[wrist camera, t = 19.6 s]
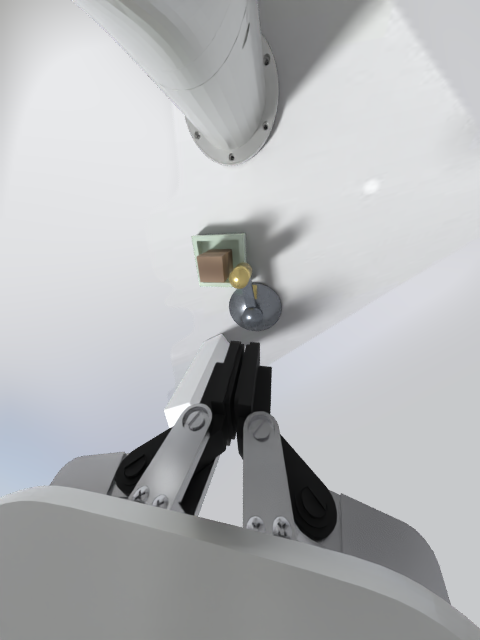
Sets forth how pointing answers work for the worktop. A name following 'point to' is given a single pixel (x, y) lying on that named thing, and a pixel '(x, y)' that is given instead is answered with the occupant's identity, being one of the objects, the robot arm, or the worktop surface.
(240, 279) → the crank
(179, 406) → the milk
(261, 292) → the crank base
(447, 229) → the worktop surface
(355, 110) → the worktop surface
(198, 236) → the tray
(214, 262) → the block
